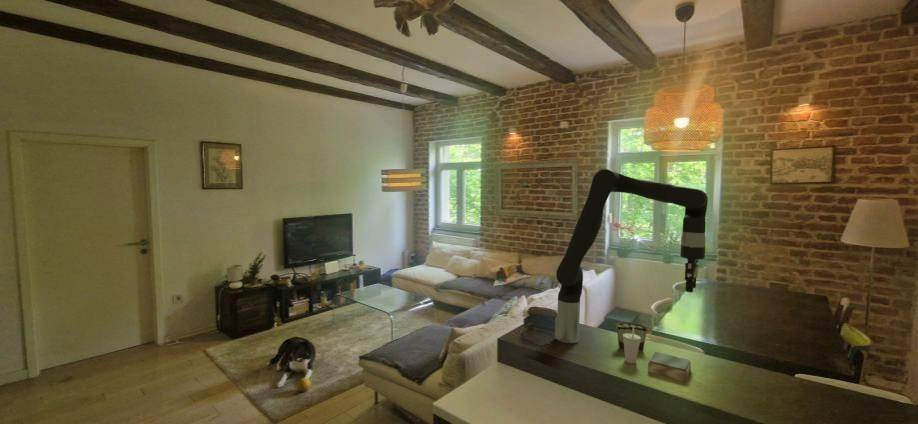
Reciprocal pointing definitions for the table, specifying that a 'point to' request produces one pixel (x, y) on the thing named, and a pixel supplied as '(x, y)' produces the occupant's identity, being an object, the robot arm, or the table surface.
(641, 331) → the food container
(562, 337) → the robot arm
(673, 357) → the oak plinth
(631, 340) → the smoothie
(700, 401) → the table surface
